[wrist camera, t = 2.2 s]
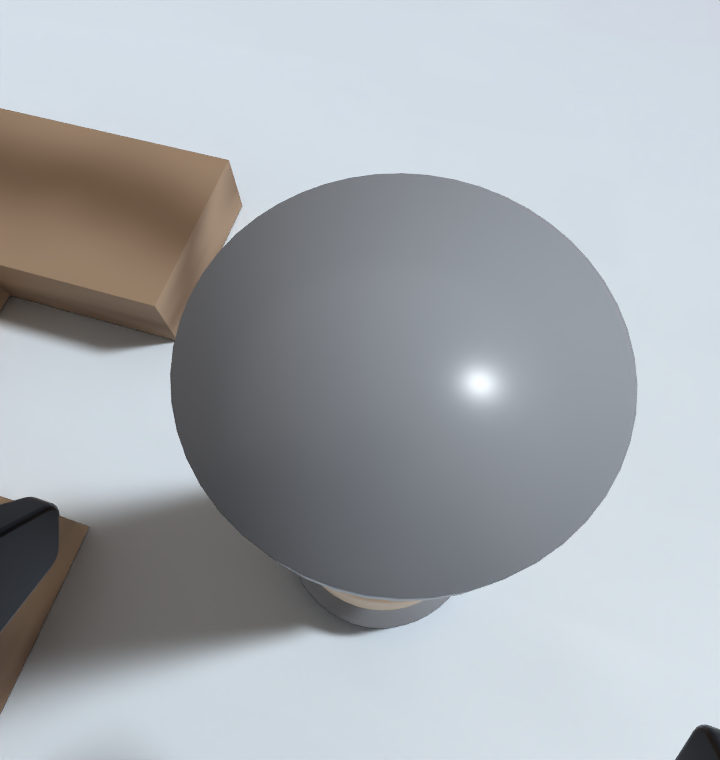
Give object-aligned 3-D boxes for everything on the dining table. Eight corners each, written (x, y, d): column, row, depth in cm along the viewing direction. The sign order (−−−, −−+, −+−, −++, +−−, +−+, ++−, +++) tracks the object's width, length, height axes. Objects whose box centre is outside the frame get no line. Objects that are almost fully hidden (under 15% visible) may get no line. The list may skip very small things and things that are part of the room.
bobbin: (444, 653, 17) (624, 704, 5) (266, 595, 18) (60, 521, 6) (484, 474, 19) (675, 216, 7) (323, 428, 20) (257, 124, 8)
